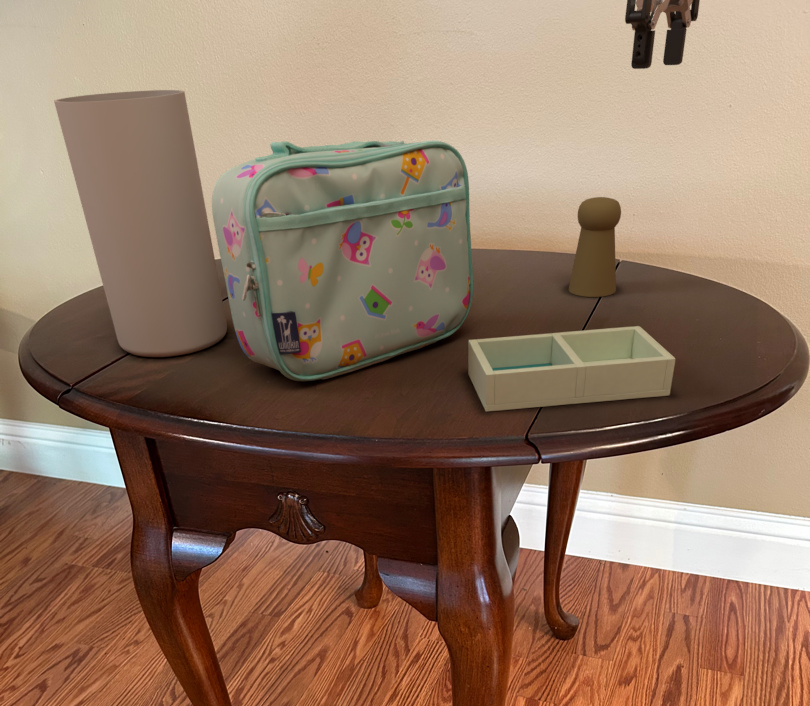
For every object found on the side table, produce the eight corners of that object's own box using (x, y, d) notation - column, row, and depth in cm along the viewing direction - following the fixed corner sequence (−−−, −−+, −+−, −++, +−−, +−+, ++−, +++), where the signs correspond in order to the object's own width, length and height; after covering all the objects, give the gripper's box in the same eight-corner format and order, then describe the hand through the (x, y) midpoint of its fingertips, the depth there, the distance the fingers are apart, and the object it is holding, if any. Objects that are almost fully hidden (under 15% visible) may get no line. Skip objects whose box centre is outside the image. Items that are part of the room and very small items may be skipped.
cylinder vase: (199, 362, 83) (145, 99, 69) (98, 357, 86) (26, 104, 72) (245, 324, 93) (205, 88, 79) (153, 321, 96) (99, 92, 82)
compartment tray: (635, 360, 78) (639, 325, 76) (669, 395, 71) (675, 358, 69) (468, 374, 77) (468, 339, 75) (485, 411, 70) (486, 374, 68)
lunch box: (271, 404, 73) (233, 158, 61) (226, 373, 80) (183, 147, 68) (482, 337, 86) (484, 122, 74) (426, 316, 93) (420, 116, 81)
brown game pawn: (603, 299, 95) (613, 205, 89) (560, 292, 98) (566, 201, 92) (623, 287, 99) (634, 195, 93) (581, 280, 102) (588, 192, 96)
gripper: (683, -119, 77) (660, 69, 86) (736, -107, 86) (710, 63, 95) (615, -108, 81) (600, 70, 90) (673, -98, 90) (654, 64, 99)
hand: (657, 66), depth 92 cm, fingers open, 8 cm apart
